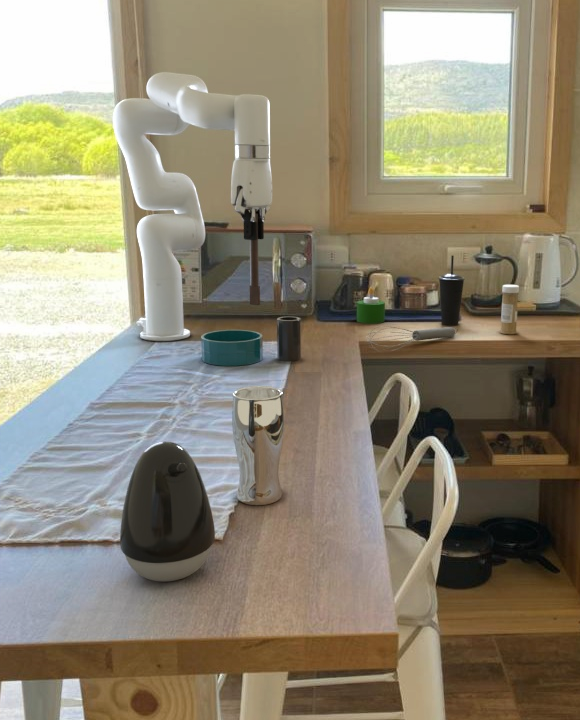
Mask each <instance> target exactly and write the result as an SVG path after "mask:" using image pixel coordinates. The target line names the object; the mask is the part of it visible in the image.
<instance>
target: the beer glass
mask: <svg viewBox="0 0 580 720" xmlns="http://www.w3.org/2000/svg"><path fill="white" fill-rule="evenodd" d="M283 399H284V397H283V390H281V389H280V388H277V387H274V386H265V385H253V386H245V387H241V388H237V389H235V390H234V391H233V393H232V409H231V410H232V412H231V413H232V414H231V426H232V427H231V428H232V438H233V444H234V448H235V453H236V459H237V463H238V469H239V481H238V488H237V494H236V497H237V500H238V501H239V502H241V503H242V504H244V505H249V506H268V505H270V504H274V503H276V502H278V501H279V500H280V499H281V498H282V496H283V493H282V487H281V482H280V474H279V472H280V471H279V469H280V460H281V454H282V449H283V442H284V436H285V409H284V400H283Z"/></svg>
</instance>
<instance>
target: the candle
mask: <svg viewBox="0 0 580 720" xmlns="http://www.w3.org/2000/svg"><path fill="white" fill-rule="evenodd" d="M385 314H386V302H385V301H383V300H379V297H376V296H374V288H373V287H372V286H370V287H369V289H368V296H365V297H363V300H362V299H361V300H358V301H356V322H357V323H360V324H361V323H362V324H382V323H385V320H386V319H385V318H386V315H385Z"/></svg>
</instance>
